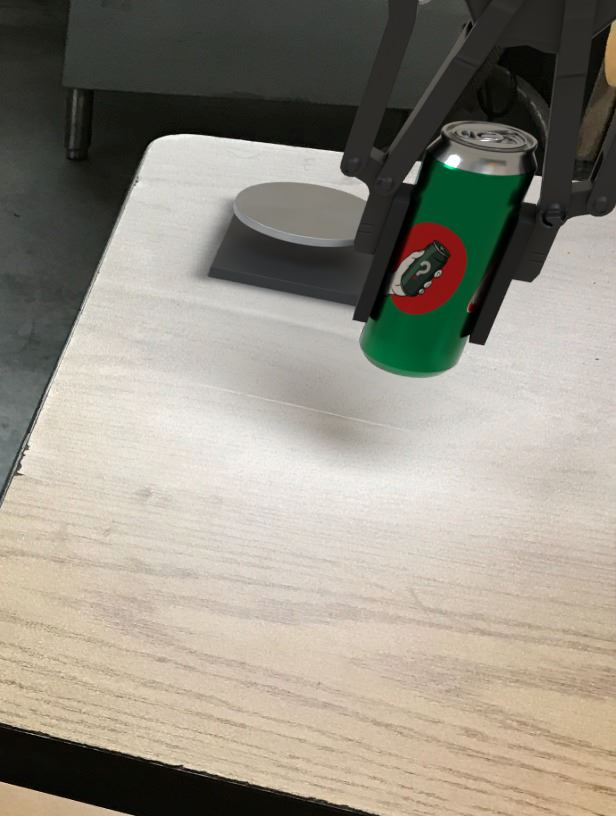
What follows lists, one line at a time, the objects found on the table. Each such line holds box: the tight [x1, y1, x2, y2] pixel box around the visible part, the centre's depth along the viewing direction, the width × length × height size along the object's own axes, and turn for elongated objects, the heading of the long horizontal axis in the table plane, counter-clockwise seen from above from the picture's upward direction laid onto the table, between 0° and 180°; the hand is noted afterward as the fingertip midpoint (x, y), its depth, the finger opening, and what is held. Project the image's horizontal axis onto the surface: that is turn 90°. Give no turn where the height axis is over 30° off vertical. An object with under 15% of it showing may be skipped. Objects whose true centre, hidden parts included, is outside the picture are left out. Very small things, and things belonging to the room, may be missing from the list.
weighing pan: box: [232, 181, 367, 247], centre depth 95 cm, size 10×10×1 cm
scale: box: [207, 212, 372, 307], centre depth 96 cm, size 17×14×4 cm
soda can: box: [358, 120, 538, 379], centre depth 70 cm, size 5×5×12 cm
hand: (419, 321), depth 72 cm, fingers closed on soda can, 5 cm apart
